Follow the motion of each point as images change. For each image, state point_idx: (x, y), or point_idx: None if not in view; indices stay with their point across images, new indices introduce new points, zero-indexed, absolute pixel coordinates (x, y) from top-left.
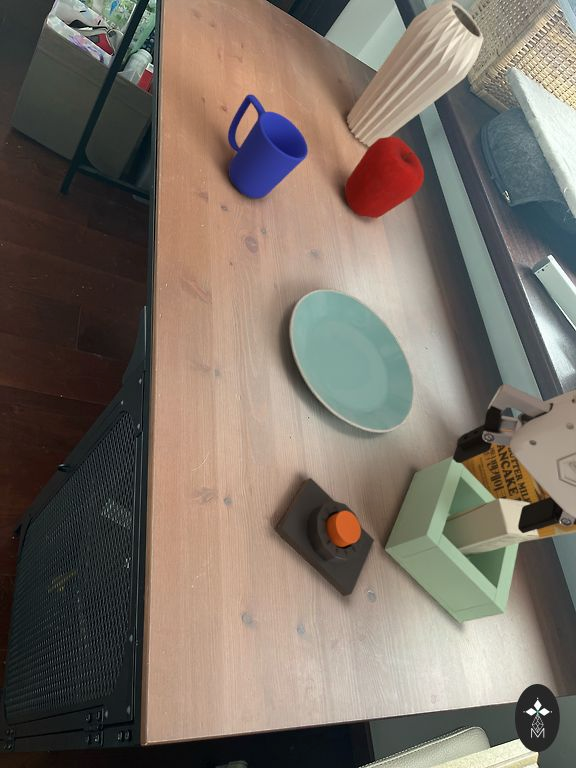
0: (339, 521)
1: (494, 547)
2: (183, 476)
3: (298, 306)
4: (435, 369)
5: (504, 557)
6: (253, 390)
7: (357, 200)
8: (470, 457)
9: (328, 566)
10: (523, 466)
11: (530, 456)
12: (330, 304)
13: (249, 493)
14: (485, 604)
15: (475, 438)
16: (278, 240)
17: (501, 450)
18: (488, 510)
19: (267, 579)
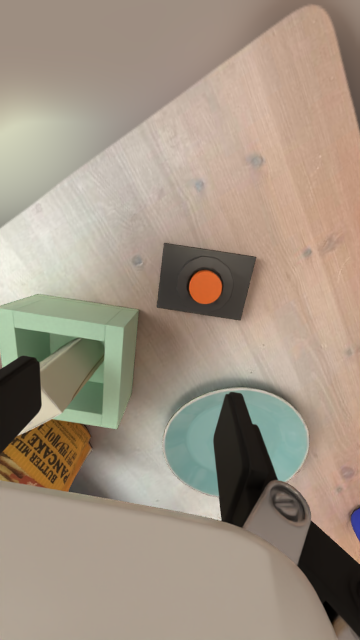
0: (217, 286)
1: None
2: (356, 246)
3: (304, 453)
4: (142, 490)
5: None
6: (310, 360)
7: None
8: (234, 416)
9: (196, 253)
10: (174, 512)
11: (226, 624)
12: None
13: (288, 272)
14: (21, 307)
15: (270, 466)
16: (323, 491)
17: (62, 469)
18: (66, 393)
19: (247, 209)
